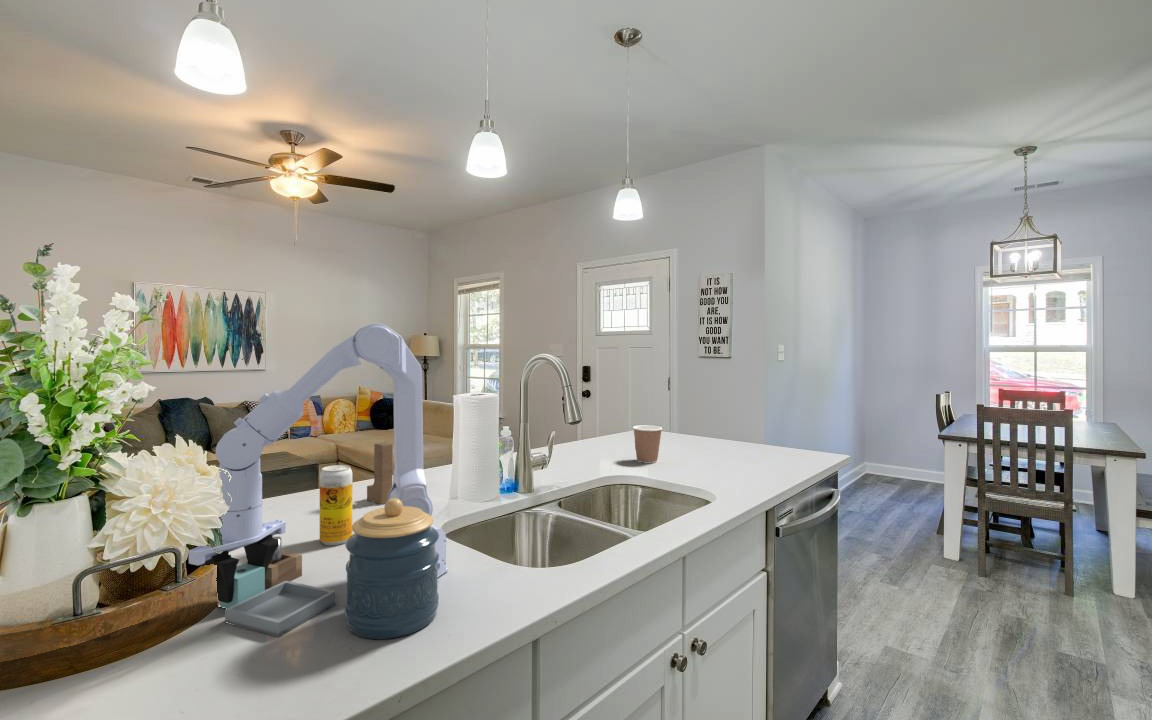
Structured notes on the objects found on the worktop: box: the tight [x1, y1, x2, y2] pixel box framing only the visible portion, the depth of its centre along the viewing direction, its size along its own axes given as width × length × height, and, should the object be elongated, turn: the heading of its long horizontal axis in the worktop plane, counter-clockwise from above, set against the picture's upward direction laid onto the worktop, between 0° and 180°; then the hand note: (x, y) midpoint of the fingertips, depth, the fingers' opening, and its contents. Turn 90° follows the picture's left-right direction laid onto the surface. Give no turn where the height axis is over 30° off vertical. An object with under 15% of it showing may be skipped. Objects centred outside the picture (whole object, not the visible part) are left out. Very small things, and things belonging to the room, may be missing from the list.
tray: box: [224, 581, 337, 638], centre depth 80 cm, size 10×10×2 cm
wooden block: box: [366, 441, 394, 505], centre depth 138 cm, size 7×3×15 cm, turn 53°
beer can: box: [319, 464, 353, 546], centre depth 109 cm, size 6×6×15 cm
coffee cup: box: [632, 424, 663, 464], centre depth 190 cm, size 10×10×12 cm
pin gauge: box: [269, 536, 283, 564], centre depth 91 cm, size 2×2×7 cm
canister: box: [344, 498, 439, 640], centre depth 79 cm, size 13×13×18 cm
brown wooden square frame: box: [244, 550, 303, 590], centre depth 91 cm, size 6×6×4 cm
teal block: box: [220, 562, 266, 608], centre depth 83 cm, size 4×4×5 cm
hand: (241, 593), depth 83 cm, fingers closed on teal block, 4 cm apart
